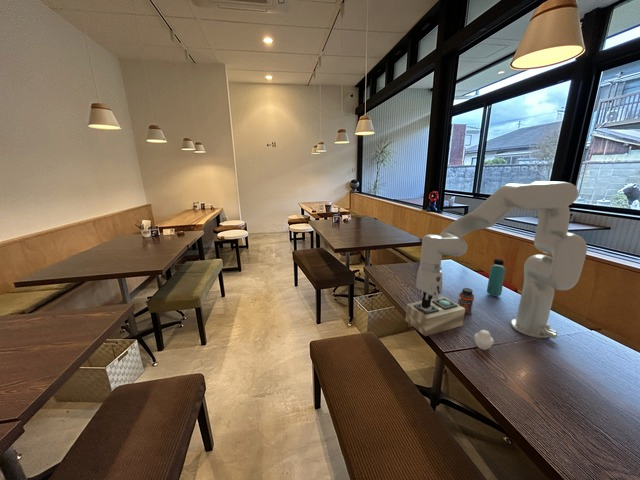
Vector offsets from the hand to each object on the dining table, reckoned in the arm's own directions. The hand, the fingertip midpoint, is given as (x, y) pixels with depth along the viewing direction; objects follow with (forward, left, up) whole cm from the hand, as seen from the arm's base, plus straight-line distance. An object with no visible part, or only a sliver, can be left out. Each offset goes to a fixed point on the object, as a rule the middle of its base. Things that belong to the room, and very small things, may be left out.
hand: (425, 306), depth 107 cm
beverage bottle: (+8, -52, -9) cm, 54 cm away
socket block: (0, -5, -9) cm, 10 cm away
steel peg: (0, 0, -8) cm, 8 cm away
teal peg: (0, -10, -8) cm, 13 cm away
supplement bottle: (+2, -25, -9) cm, 27 cm away
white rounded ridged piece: (-19, -10, -9) cm, 23 cm away
